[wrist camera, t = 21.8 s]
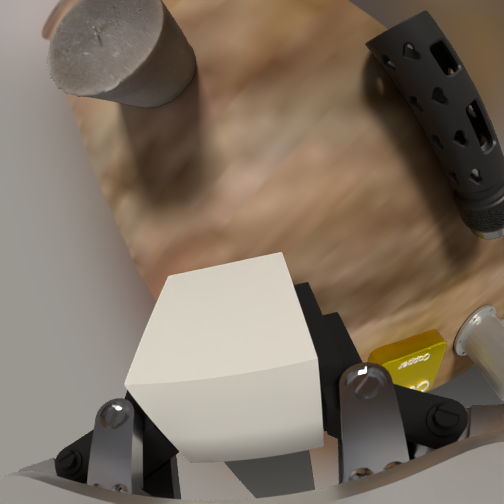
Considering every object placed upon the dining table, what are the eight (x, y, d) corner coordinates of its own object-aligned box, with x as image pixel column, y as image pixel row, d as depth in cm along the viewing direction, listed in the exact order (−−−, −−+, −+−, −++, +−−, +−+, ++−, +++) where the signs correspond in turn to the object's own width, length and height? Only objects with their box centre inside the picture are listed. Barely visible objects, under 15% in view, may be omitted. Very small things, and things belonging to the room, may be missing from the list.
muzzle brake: (395, 25, 23) (441, 2, 13) (484, 190, 32) (530, 210, 22) (348, 54, 25) (390, 28, 15) (450, 226, 34) (496, 254, 25)
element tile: (438, 325, 42) (451, 340, 38) (423, 376, 48) (432, 391, 43) (367, 348, 42) (378, 368, 38) (361, 398, 48) (368, 416, 44)
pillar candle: (177, 19, 22) (136, -47, 9) (210, 84, 26) (181, 41, 12) (104, 60, 24) (27, 30, 10) (132, 124, 27) (54, 124, 14)
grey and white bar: (281, 252, 9) (317, 358, 5) (314, 463, 16) (325, 516, 12) (168, 276, 10) (124, 384, 5) (263, 472, 17) (267, 525, 12)
